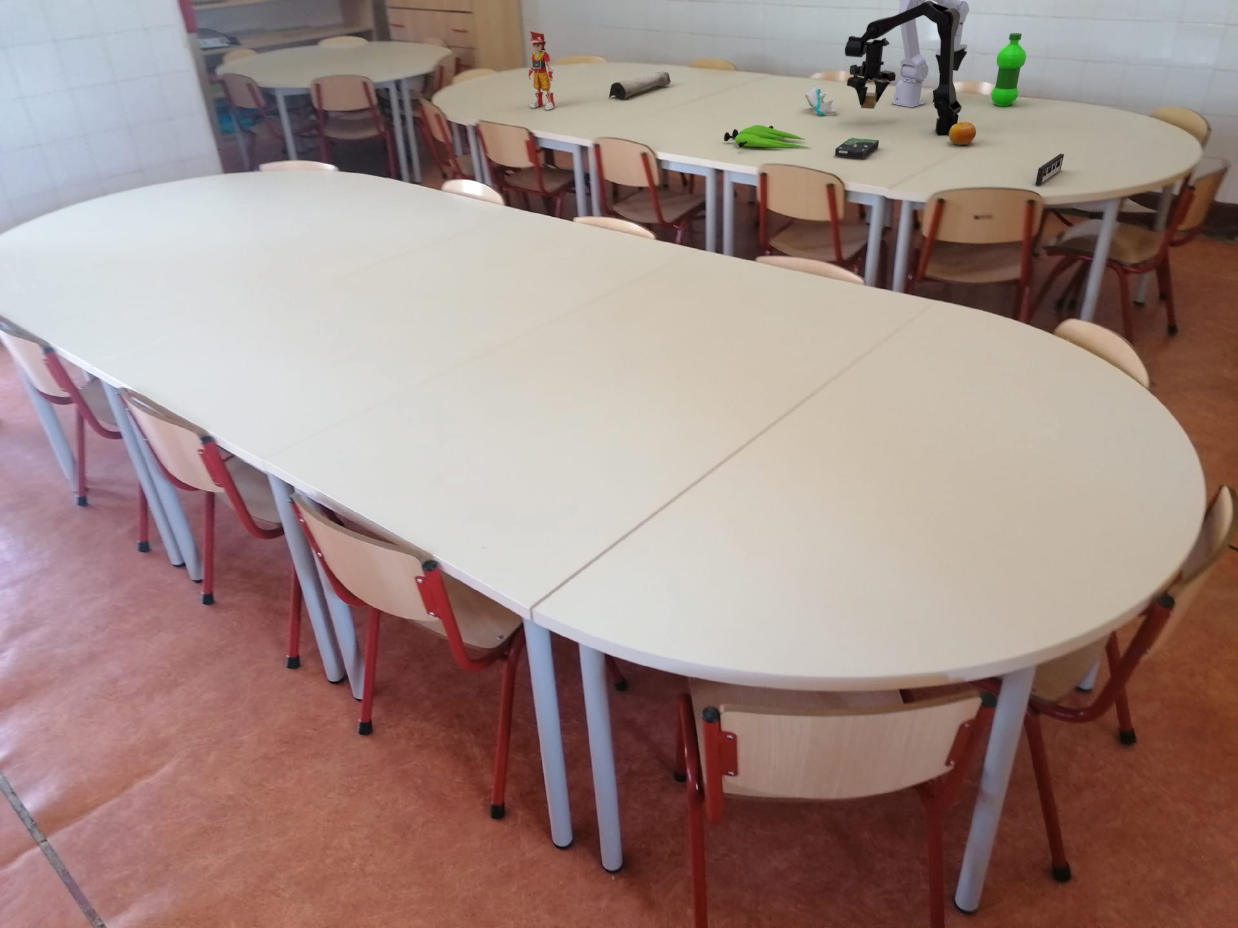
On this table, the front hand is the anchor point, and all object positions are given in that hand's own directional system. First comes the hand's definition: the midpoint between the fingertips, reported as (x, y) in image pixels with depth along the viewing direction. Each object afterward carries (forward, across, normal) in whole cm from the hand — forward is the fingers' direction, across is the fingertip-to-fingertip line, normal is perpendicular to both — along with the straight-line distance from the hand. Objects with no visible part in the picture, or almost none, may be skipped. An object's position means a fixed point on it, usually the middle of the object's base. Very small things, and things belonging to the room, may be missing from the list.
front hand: (868, 104), depth 332 cm
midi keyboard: (+7, +2, +83) cm, 83 cm away
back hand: (-2, -51, -10) cm, 52 cm away
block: (+1, 0, 0) cm, 1 cm away
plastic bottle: (+7, -57, +14) cm, 59 cm away
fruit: (+7, -6, +41) cm, 42 cm away
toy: (+8, +83, -108) cm, 137 cm away
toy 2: (+7, +44, -2) cm, 45 cm away
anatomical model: (+7, +2, -25) cm, 26 cm away
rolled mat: (+8, +37, -103) cm, 110 cm away
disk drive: (+7, +28, +26) cm, 39 cm away
